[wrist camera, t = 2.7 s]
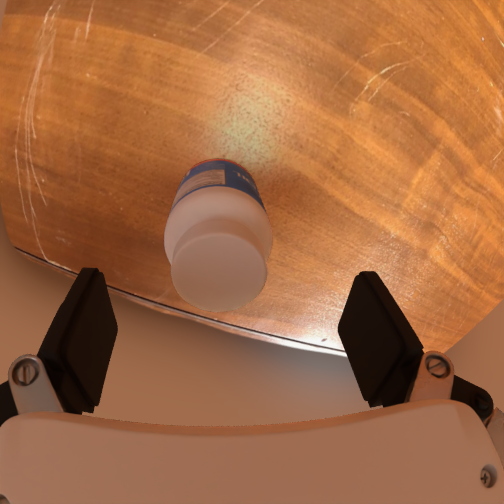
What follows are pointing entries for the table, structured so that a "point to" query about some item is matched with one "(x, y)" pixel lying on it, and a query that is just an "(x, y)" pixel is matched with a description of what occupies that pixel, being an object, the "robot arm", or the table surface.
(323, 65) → the table surface
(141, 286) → the table surface
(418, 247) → the table surface
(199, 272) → the pill bottle
